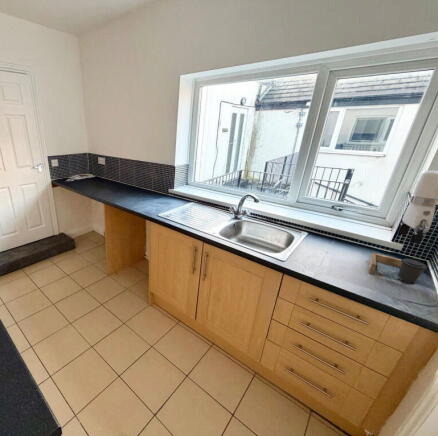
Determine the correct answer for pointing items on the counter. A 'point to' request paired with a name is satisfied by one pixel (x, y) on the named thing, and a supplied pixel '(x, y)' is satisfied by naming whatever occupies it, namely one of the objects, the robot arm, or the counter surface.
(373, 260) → the corner guard
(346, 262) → the counter surface
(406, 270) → the coffee cup
